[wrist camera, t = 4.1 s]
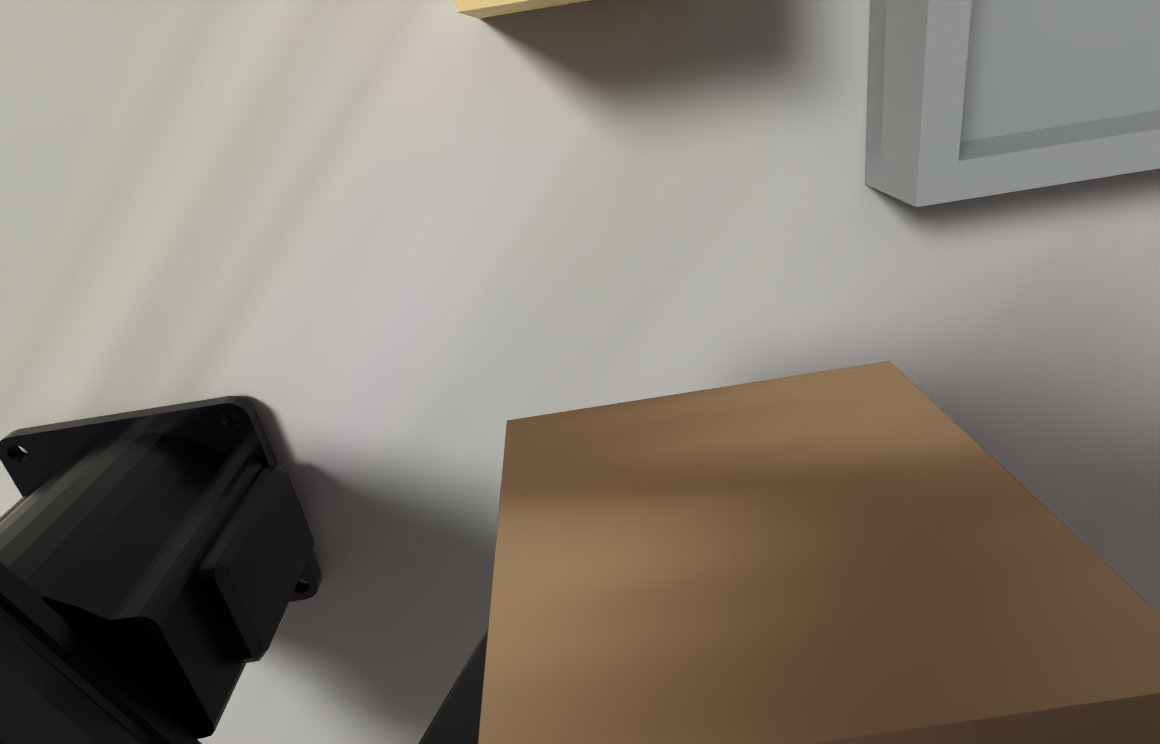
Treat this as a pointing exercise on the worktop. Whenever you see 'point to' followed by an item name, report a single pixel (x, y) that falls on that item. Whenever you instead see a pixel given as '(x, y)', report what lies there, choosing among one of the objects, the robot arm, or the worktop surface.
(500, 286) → the worktop surface
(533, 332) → the worktop surface
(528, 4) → the mustard block
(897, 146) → the tray
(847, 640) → the walnut block
